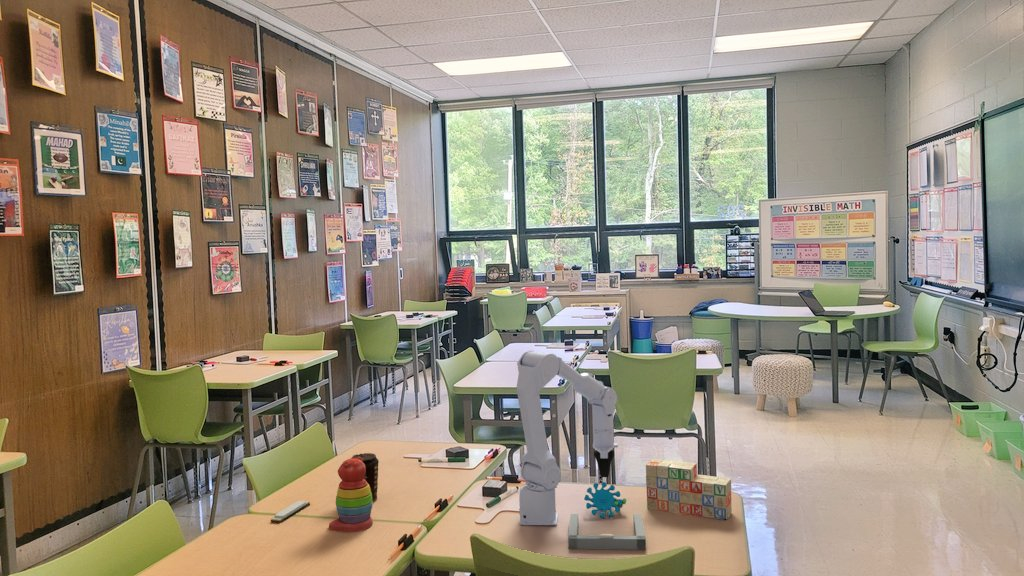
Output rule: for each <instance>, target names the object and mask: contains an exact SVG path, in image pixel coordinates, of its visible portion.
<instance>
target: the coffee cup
mask: <svg viewBox="0 0 1024 576" xmlns="http://www.w3.org/2000/svg"><path fill="white" fill-rule="evenodd" d="M358 457H361V458H362V460H363V461H362V462H363V463H364V464H365V467H366V472H365V476H364V478H363V479H365V480H366V481H367V483H368V484H369V486H370V490H371V493H372V501H373V503H375V502H376V501H377V499H378V487H379V486H378V485H379V484H378V483H379V482H378V480H379V463H380V462H379V459H378V458H377V455H376V454H375V453H372V452H368V453H367V452H366V453H365V452H364V453H359V454H358V453H357V454H354V455H352V457H351V458H356V459H357V458H358Z"/></svg>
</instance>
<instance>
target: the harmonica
mask: <svg viewBox="0 0 1024 576" xmlns="http://www.w3.org/2000/svg"><path fill="white" fill-rule="evenodd" d="M310 506H311V503H310V501H305V500H297V501H295V502H294V503H291V504H290V505H288V506H287V507H285V508H284V509H281V510H280V511H279V512H276V513H275V515H274V517H273V518H271V519H270V524H279V525H280V523H281V524H283V523H284V522H285V521H287V520H289V519H290V518H292V517H293V516H295V515H297V514H298V513H300V512H301V510H302V511H303V510H304V509H306V508H308V507H310ZM296 513H297V514H296Z"/></svg>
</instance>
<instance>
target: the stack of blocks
mask: <svg viewBox="0 0 1024 576" xmlns="http://www.w3.org/2000/svg"><path fill="white" fill-rule="evenodd" d="M697 464H698V463H696V462H686V461H678V460H667V459H658V458H652V459H651V460H649V462H648V463H646V464H645V485H646V508H647V509H650V510H656V511H663V512H668V513H675V514H681V513H682V515H688V514H690V515H689V516H695V515H696V517H703V516H704V517H703V518H708V517H711V518H710V519H715V518H719V519H718V520H721V519H726V520H728V518H729V517H730V516H731V514H732V509H733V508H732V478H729V477H722V476H721V477H719V476H714V475H713V476H712V475H705V474H698V470H697ZM730 513H731V514H730ZM697 515H698V516H697ZM729 515H730V516H729ZM728 516H729V517H728ZM727 517H728V518H727Z"/></svg>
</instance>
